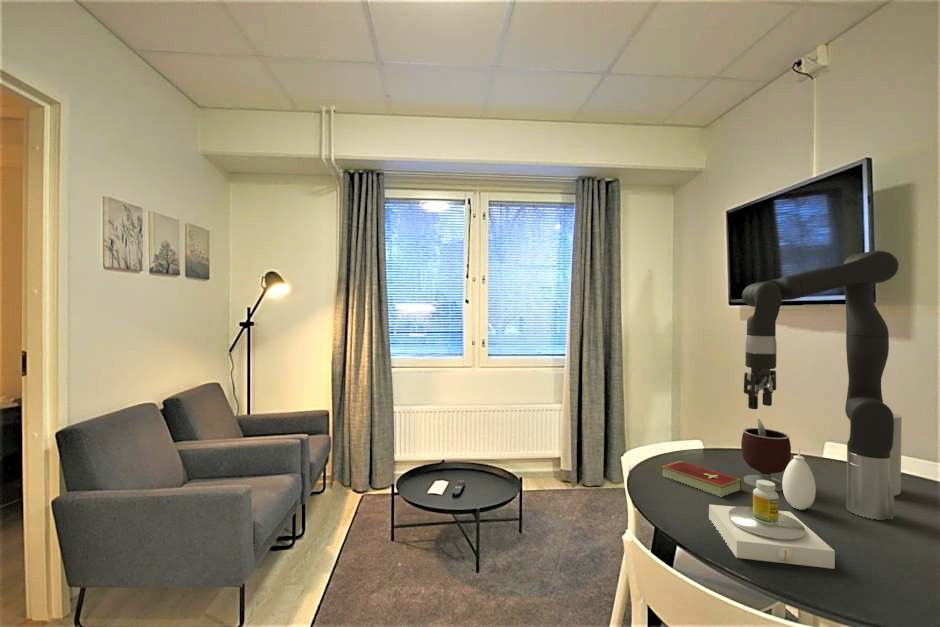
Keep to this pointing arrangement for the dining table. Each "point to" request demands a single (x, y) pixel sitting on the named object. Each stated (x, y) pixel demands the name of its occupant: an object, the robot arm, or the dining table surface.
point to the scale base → (772, 543)
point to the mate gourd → (765, 453)
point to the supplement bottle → (765, 503)
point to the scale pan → (782, 530)
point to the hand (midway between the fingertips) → (760, 407)
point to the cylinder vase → (896, 456)
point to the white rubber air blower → (799, 483)
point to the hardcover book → (702, 478)
